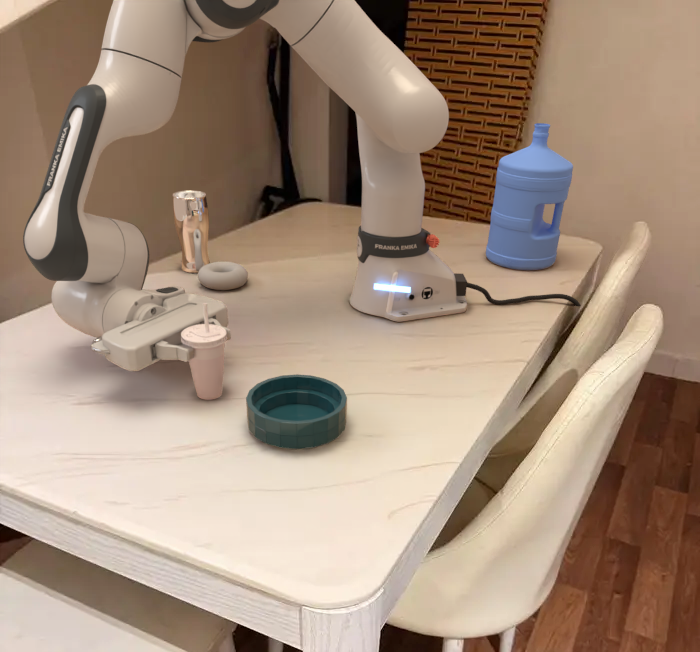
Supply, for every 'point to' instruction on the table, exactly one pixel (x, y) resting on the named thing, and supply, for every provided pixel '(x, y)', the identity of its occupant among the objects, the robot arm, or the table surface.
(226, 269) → the donut
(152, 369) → the table surface
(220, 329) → the smoothie
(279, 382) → the bowl
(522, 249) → the water jug
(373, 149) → the robot arm
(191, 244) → the beer glass
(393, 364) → the table surface
